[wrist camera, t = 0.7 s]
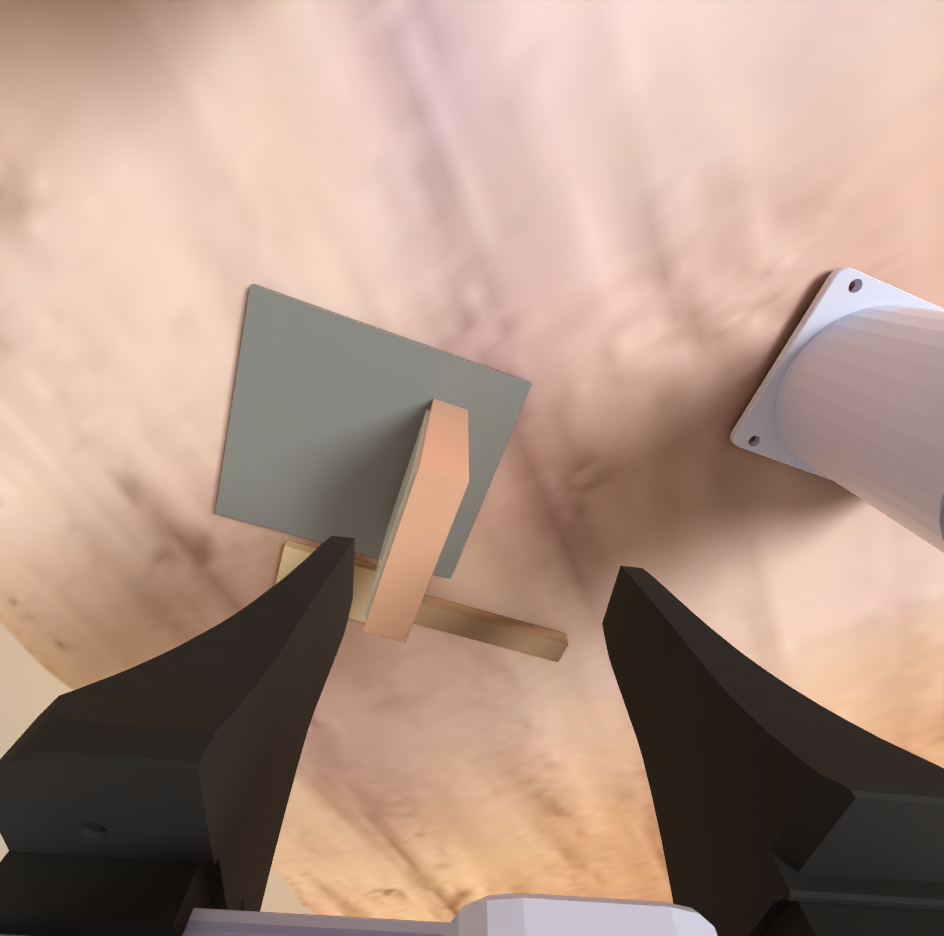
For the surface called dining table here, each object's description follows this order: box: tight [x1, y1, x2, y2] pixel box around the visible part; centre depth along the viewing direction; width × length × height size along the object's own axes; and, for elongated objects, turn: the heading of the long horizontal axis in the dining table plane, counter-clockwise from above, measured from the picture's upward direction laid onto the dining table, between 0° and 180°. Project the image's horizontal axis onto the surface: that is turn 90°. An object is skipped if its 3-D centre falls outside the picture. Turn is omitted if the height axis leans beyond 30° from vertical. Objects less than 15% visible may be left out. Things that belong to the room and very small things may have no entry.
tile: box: [363, 398, 469, 642], centre depth 19 cm, size 2×7×7 cm, turn 160°
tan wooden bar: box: [275, 541, 568, 662], centre depth 26 cm, size 16×4×1 cm, turn 70°
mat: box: [215, 284, 532, 579], centre depth 22 cm, size 12×11×1 cm
